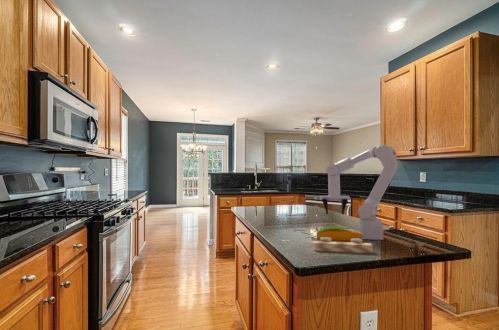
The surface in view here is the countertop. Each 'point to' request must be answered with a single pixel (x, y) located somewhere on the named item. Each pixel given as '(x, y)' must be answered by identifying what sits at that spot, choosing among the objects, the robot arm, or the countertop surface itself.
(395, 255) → the countertop surface
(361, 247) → the boss rack
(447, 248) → the countertop surface
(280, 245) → the countertop surface
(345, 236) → the corn
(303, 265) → the countertop surface
